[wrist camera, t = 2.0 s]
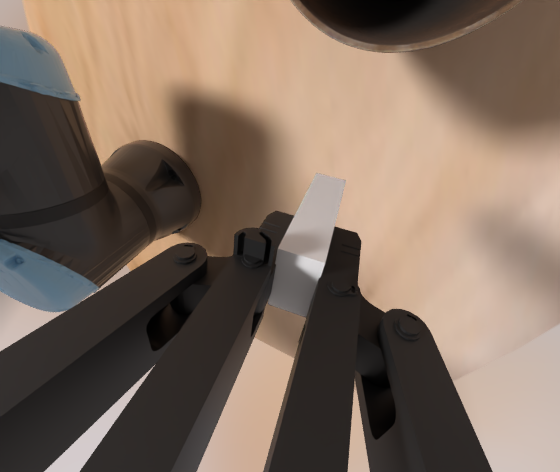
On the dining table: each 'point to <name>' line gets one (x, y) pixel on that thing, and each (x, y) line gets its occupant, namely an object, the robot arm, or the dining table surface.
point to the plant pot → (400, 21)
